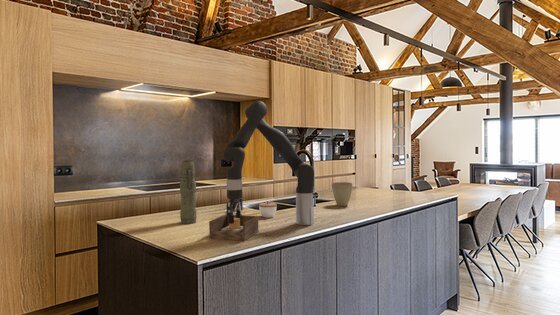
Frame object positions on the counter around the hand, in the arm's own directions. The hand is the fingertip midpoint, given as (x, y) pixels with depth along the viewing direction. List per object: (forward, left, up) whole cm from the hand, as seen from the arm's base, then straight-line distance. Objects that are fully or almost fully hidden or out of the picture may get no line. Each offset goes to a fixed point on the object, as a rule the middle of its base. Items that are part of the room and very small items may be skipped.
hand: (235, 221), depth 183 cm
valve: (+13, -25, -7) cm, 29 cm away
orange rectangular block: (0, 0, -7) cm, 7 cm away
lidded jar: (-1, -48, -7) cm, 48 cm away
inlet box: (0, 0, -7) cm, 7 cm away
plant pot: (-39, -102, -7) cm, 109 cm away
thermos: (+37, -20, -7) cm, 43 cm away
